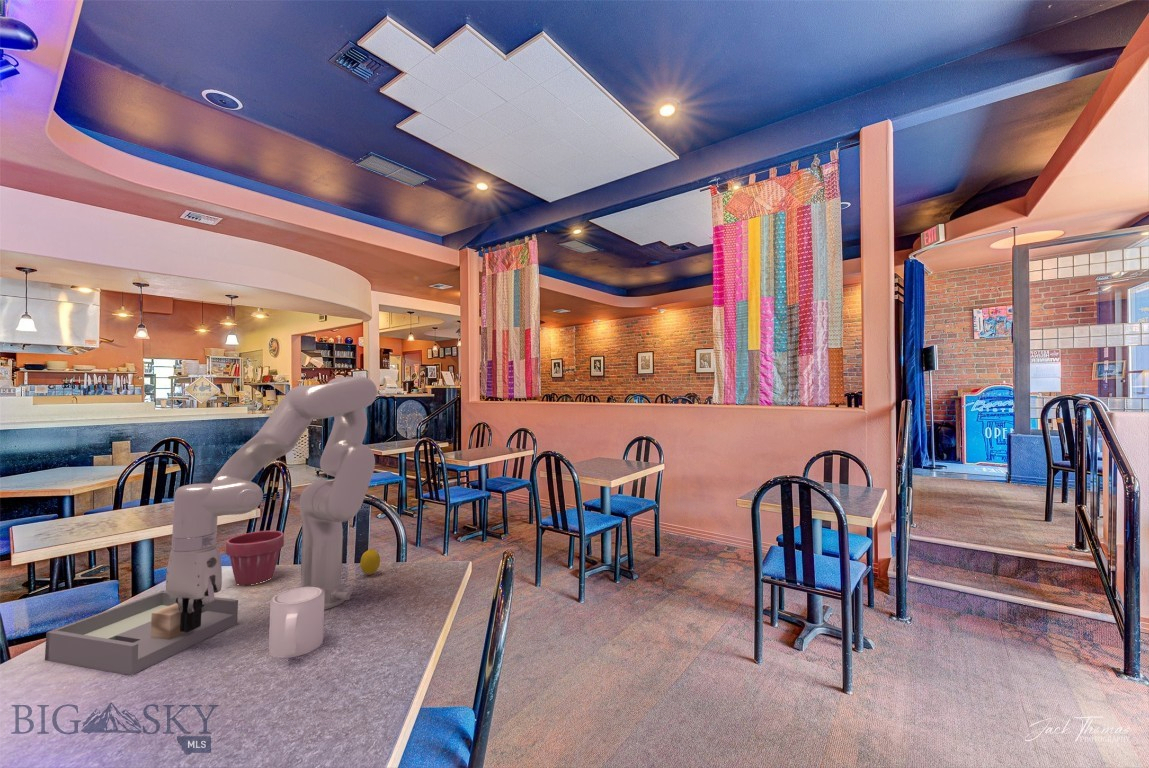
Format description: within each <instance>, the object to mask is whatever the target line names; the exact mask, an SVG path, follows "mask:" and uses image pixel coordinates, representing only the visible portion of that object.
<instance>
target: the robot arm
mask: <svg viewBox="0 0 1149 768" xmlns="http://www.w3.org/2000/svg"><path fill="white" fill-rule="evenodd" d="M377 395H378V388H377V386H376V384H375V382H374V381H373V380H371V379H370V378H368V377H365V376H339V377H335V378H332V379H330V380H329V381H328V382H327V383H322V384H317V385H316V384H315V385H312V384H308V385H306V384H305V385H297V386H295V387H293V388H291V389H290V390H289V391H288V392H287V393H286V394H285V395H284V397H283V398H282V399H281V401H280V402H279V404H278V405H276V408H275V409H274V410H273V412H272V413H271V415H270V416H269V417H268V418H267V419H266V421H265V422H264V424H263V425H262V426H261V428H260V430H259V431H258V432H257V433H256V434H255V435H254V436H253V437H251V438H250V439H249V440H248V441H246V442H245V443H244V445H242V446H240V448H239V449H238V450H237V451H236V452H235V453H234V454H232V455H231V456H230V457H229V458H228V460H226V462H225V463H224V465H222V467H221V468H220V470H218V472H217V474H216V475H215V477H214V478H213V479H212V480H211V482H210V483H192V484H186V485H182V486H180V487H177V488H176V490H175V493H174V497H173V514H172V515H173V516H172V533H171V534H172V535H171V536H172V538H171V550H170V553H169V558H168V562H167V569H166V577H165V591H166V593H167V594H168V595H170V596H169V598H170V599H171V600H173V601H176V602H177V604H178V610H179V612H182V613H181V619H180V631H181V632H189V631H192V630H194V629H196V628H198V627H200V626H201V612H202V608H204V605H205V604H209V603H211V602H214V601H215V597H216V596H215V594H216V593H219V592H221V590H222V583H223V575H222V574H223V572H222V571H223V569H222V559H221V558H222V556H221V554H220V553H221V552H220V548H219V546H217V542H218V540H217V536H218V535H217V533H218V516H230V515H231V516H232V515H236V516H237V515H243V514H247V513H250V512H252V511H255V510H256V509H257V508H258V507H259V506H260V505H261V503H262V501H263V498H264V493H263V490H262V488H261V487H260V486H259V485H258V484H257V483H255V482H254V481H252V480H253V479H254V478H255V476H256V475H257V474H259V472H260V471H261V470H262V469H263V468H264V467H265V466H267V465H268V464H269V463H271V462H273V461H275V460H277V459H279V458H281V457H283V456H285V455H287V454H288V453H290V452H291V451H293V449H294V448H295V447H296V445H297V443H298V442H299V441H300V438H301V437H302V436H303V434H304V433H305V431H306V430H307V429H308V428H309V426H310V424H311V423H312V421H313V420H314V419H315V420H319V419H320V420H322V419H328V418H332V417H334V418H333V419H334V420H333V425H332V429H331V430H330V434H329V436H328V438H327V442H326V445H325V447H324V449H323V452H322V453H321V457H320V461H319V467H320V469H321V471H322V472H323V473H324V474H326V475H328V476H331V477H334V479H333V481H331V480H325V479H324V480H316V481H313V482H311V483H310V484H308V485H307V486H306V487H305V488H304V489H303V491H302V493H301V494H300V498H299V514H300V519H301V558H300V561H301V562H300V565H301V566H300V586H299V587H306V586H316V587H321V588H323V589H324V591H325V597H324V611H325V610H328V609H331V608H332V609H333V608H334V607H337V606H340V605H341V604H343V603H344V602H345V601H348V600H350V598H351V595H352V594H353V589H352V588H346V585H345V584H346V583H345V581H342V571H343V569H342V565H343V538H344V537H343V536H344V535H343V534H344V531H343V523H344V522H348V521H351V519H352V518H354V517H355V516H356V515H357V514H358V512H359V511H360V509H361V507H362V505H363V503H364V500H365V497H366V494H367V491H368V488H369V487H370V483H371V479H372V477H373V474H374V471H375V467H376V466H375V465H376V458H375V455H374V452H373V450H372V448H370V447H369V446H368V445H366V444H363V443H364V439H365V435H366V432H367V427H368V418H367V413H366V410H365V408H368V407H369V406H371V405H372V404H373V403H374V402H375V400H376V398H377ZM196 600H197V601H196Z"/></svg>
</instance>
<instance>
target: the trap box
mask: <svg viewBox="0 0 1149 768" xmlns="http://www.w3.org/2000/svg"><path fill="white" fill-rule="evenodd" d="M169 596H170V595H168V594H167V593H166V590H161V591H158V592H155V593H153V594H149V595H147V596H144V597H141V598H139V599H136V600H133V601H130V602H128V603H124V604H122V605H119V606H115V607H113V608H111V609H108V610H104V611H102V612H99V613H97V614H93V615H91V616H88V617H84V618H82V619H80V620H77V621H74V622H71V623H68V624H66V625H62V626H60V627H57V628H54V629H51V630H49V631H47V632H46V634H45V635H46V636H45V648H44V649H45V651H44V661H48V662H55V663H60V664H66V665H71V666H76V667H82V668H88V669H92V670H99V671H103V672H109V673H115V674H120V673H121V674H120V675H125V674H128V675H127V676H133V675H135V674H138V673H139V672H141V670H142V671H144V670H145V668H146V669H147V668H149V667H152V666H153V665H156V664H157V663H160V662H162V661H164V660H167V659H168V658H169V657H172V656H174V655H176V654H178V653H180V652H182V651H184V650H186V649H188V648H190V647H192V646H195V645H197V644H198V643H202V641H204V640H207V639H208V638H210V637H213V636H215V635H217V634H219V633H221V632H223V631H225V630H227V629H229V628H232V627H234V626H235V625H238V614H239V613H238V612H239V610H238V609H239V600H238V599H234V598H226V597H217V596H214V597H215V601H214V602H211V603H209V604H205V605H204V608H202V612H201V626H200V627H198V628H196V629H194V630H192V631H189V632H185V633H183V634H180V635H178V636H176V637H174V638H172V639H170V640H168V639H161V638H154V637H151V617H152V613H153V612H155V611H158V610H161V609H163V608H166V607H168V606H171V605H173V604H176V603H177V602H176V601H173V600H171V599H170V598H169ZM196 601H197V600H196ZM143 669H144V670H143ZM132 674H133V675H132Z"/></svg>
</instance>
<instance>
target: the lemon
mask: <svg viewBox="0 0 1149 768" xmlns="http://www.w3.org/2000/svg"><path fill="white" fill-rule="evenodd" d="M361 555H362V556H361V557H360V562H359V563H360V565H359V566H360V569H361V571H362V572H363V573H365V574H367V575H368V574H371V573H372V574H374V573H375V572H376V571H377V570H378V569H379V567H380V565H381V557H380V553H379V552H378V551H377V550H375V549H373V548H369V549H368V550H366V551H365V552H363V554H361ZM372 574H371V575H372Z"/></svg>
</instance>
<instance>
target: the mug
mask: <svg viewBox="0 0 1149 768" xmlns="http://www.w3.org/2000/svg"><path fill="white" fill-rule="evenodd" d="M324 597H325V591H324V589H323V588H321V587H316V586H306V587H300V586H299V587H294V588H288V589H286V590H283V591H281V592H278V593H276V594H274V595H273V596H272V597H271V598H270V601H269V604H270V605H269V606H270V607H269V632H268V633H269V635H268V655H269V656H271V657H273V658H277V659H287V658H295V657H299V656H303V655H305V654H308V653H310V652H312V651H314V650H316V649H318V648H319V647H320V646H321V645H322V644H323V642H324V631H325V630H324V627H325V626H324V625H325V624H324V623H325V622H324V620H325V610H324Z"/></svg>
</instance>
